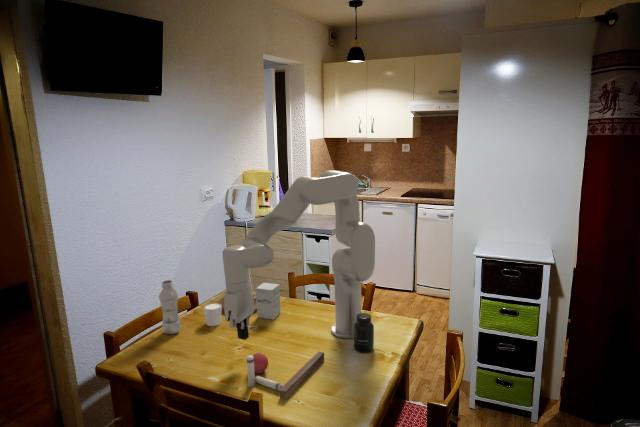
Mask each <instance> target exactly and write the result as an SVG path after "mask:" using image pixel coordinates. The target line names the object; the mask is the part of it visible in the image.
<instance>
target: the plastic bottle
mask: <svg viewBox="0 0 640 427" xmlns="http://www.w3.org/2000/svg"><path fill="white" fill-rule="evenodd" d="M161 288H162V289H161V291H160V293H159V297H158V298H159V302H160V305H161V306H160V307H161V311H162V324H161V325H162V326H161V328H162V332H163V333H164V334H165V335H174V334H177V333H179V332H180V331H181V328H182V324H181V320H180V316H179V312H178V298H179V296H178V292H177V291H176V289H175V288H174V282H173V280H171V279H170V280H169V279H167V280H164V281H162V282H161Z"/></svg>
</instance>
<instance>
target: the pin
mask: <svg viewBox="0 0 640 427" xmlns="http://www.w3.org/2000/svg"><path fill="white" fill-rule="evenodd" d="M255 384H259V385H261V386H264V387H268V388H270V389H272V390H275V391H278V392H279V390H280V389H281V388H282V387H283V386H284V384H283V383H281V382H277V381H274V380H272V379H269V378H266V377H262V376H260V375H256V376H255Z"/></svg>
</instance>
